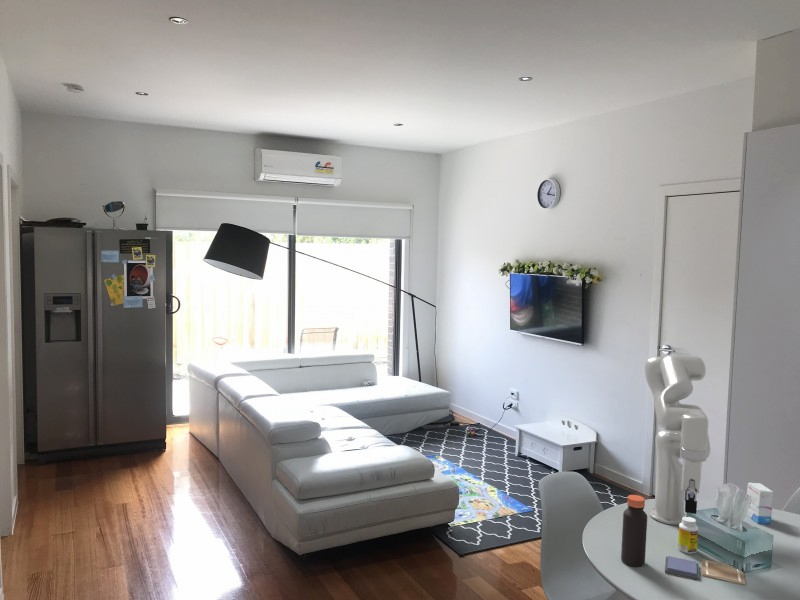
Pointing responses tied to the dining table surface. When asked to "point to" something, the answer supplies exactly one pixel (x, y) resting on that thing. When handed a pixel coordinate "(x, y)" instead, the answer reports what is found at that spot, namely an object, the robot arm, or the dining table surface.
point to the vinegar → (634, 532)
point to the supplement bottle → (688, 535)
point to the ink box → (760, 503)
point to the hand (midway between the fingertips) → (690, 507)
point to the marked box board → (722, 572)
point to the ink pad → (682, 567)
